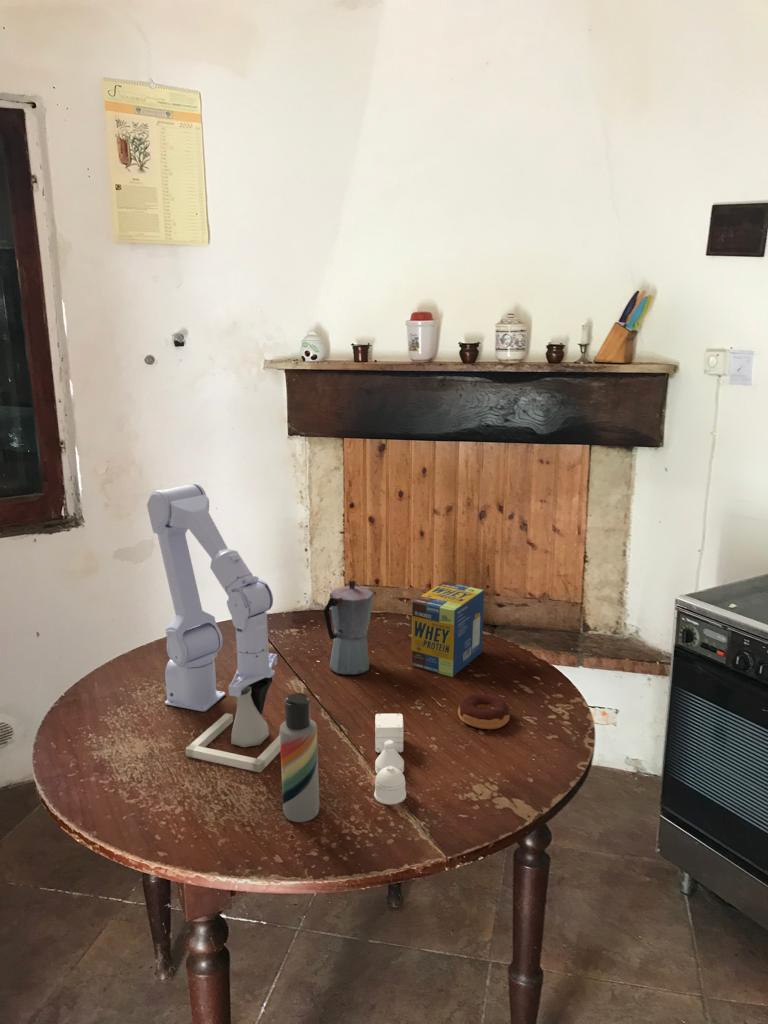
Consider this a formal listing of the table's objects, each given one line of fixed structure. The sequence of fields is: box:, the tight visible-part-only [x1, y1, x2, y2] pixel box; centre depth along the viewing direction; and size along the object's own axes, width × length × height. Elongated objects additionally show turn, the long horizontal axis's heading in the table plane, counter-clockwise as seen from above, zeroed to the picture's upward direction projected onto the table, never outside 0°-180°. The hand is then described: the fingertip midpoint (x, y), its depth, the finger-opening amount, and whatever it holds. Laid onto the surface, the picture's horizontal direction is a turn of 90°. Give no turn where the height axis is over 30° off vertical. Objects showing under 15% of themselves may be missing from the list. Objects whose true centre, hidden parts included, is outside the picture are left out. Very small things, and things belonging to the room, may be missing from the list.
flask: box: [230, 686, 270, 748], centre depth 146 cm, size 7×7×10 cm
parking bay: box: [185, 712, 281, 773], centre depth 146 cm, size 15×14×2 cm
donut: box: [457, 693, 511, 730], centre depth 154 cm, size 10×10×4 cm
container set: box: [373, 713, 407, 805], centre depth 137 cm, size 20×5×6 cm, turn 0°
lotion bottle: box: [279, 692, 320, 823], centre depth 124 cm, size 6×6×20 cm
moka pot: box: [323, 580, 375, 676], centre depth 174 cm, size 10×15×20 cm, turn 148°
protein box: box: [411, 581, 485, 678], centre depth 179 cm, size 10×15×16 cm
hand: (255, 714), depth 150 cm, fingers closed
